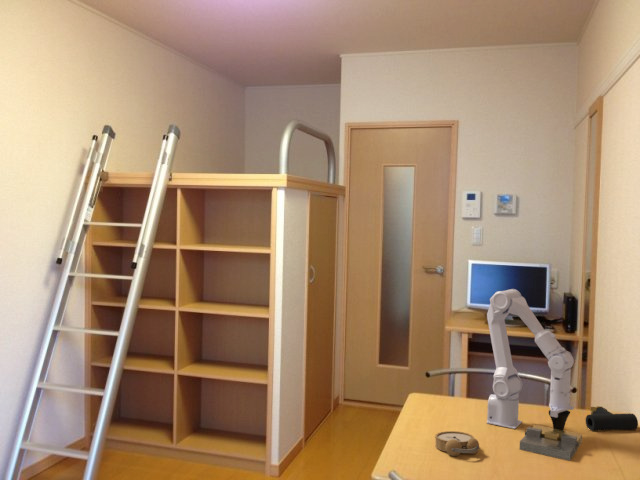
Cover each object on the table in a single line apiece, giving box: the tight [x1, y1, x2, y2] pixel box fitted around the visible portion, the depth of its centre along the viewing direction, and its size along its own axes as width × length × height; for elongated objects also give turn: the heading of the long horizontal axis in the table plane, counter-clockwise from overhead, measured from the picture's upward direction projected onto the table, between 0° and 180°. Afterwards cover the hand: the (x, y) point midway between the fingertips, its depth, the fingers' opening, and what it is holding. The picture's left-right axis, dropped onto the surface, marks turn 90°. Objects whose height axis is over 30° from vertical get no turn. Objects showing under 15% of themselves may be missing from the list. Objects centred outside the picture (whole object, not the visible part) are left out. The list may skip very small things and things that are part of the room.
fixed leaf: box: [519, 426, 579, 462], centre depth 180 cm, size 15×9×4 cm, turn 56°
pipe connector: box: [585, 405, 639, 432], centre depth 202 cm, size 12×5×15 cm
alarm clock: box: [434, 430, 480, 457], centre depth 179 cm, size 11×5×15 cm
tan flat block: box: [531, 424, 583, 451], centre depth 186 cm, size 14×9×4 cm, turn 56°
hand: (558, 434), depth 191 cm, fingers closed
